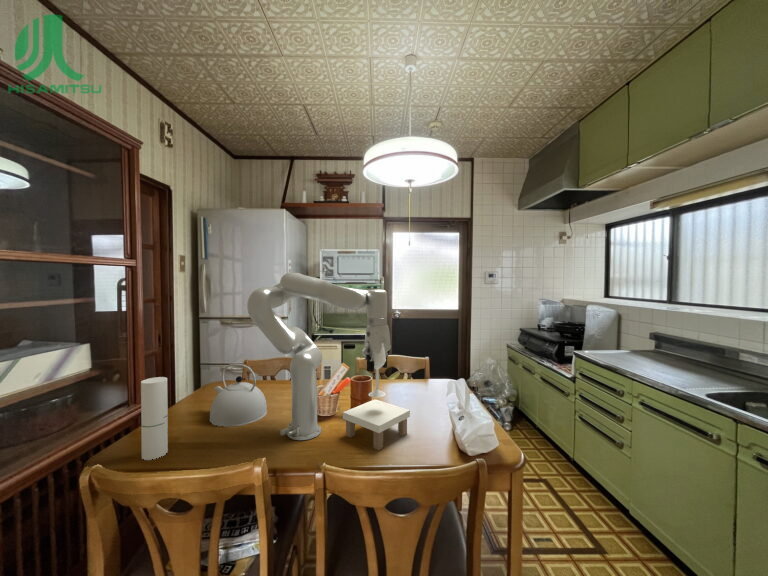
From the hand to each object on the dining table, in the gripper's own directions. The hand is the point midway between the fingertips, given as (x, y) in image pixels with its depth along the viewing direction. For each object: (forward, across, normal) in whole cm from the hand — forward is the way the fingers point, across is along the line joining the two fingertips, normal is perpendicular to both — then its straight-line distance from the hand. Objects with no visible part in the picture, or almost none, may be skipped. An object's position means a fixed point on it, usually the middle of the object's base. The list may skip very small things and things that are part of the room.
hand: (377, 368), depth 122 cm
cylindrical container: (+25, -59, +47) cm, 80 cm away
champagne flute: (+10, 0, 0) cm, 10 cm away
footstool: (+25, 0, 0) cm, 25 cm away
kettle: (+25, -26, +59) cm, 69 cm away
